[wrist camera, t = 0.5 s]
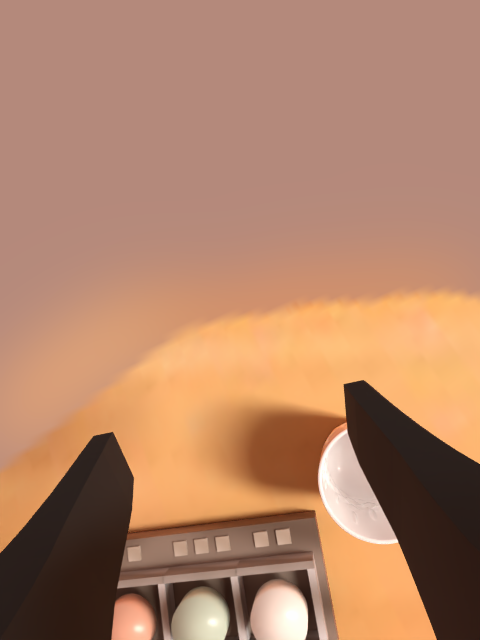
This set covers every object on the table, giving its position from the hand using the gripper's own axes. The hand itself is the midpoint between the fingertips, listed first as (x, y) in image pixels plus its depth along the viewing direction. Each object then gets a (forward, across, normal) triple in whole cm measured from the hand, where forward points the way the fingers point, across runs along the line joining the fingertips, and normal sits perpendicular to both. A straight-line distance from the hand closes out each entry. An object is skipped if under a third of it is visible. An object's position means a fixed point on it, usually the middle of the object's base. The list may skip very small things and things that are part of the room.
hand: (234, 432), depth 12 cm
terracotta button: (+10, +14, +28) cm, 33 cm away
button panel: (+12, +7, +30) cm, 33 cm away
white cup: (+17, -9, +22) cm, 29 cm away
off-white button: (+8, +1, +28) cm, 29 cm away
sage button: (+9, +7, +28) cm, 30 cm away
